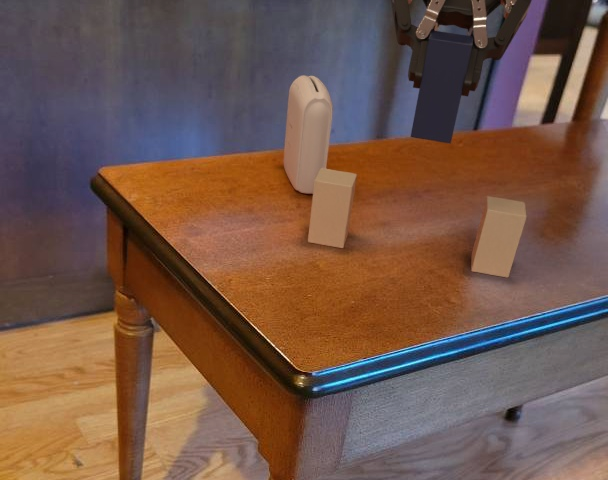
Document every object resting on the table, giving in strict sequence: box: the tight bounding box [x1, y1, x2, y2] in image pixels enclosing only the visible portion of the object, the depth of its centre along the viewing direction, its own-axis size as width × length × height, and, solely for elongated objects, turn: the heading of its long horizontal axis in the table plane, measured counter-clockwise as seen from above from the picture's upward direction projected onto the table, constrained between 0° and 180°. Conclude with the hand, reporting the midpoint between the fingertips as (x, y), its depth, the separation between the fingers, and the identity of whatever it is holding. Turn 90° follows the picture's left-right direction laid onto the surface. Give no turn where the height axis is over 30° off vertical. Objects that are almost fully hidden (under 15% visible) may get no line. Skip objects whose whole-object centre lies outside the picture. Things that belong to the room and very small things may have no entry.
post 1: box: [307, 168, 358, 249], centre depth 80 cm, size 4×4×7 cm
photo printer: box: [283, 75, 334, 195], centre depth 92 cm, size 10×4×12 cm, turn 11°
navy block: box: [410, 30, 473, 144], centre depth 72 cm, size 4×4×9 cm
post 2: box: [470, 195, 527, 279], centre depth 79 cm, size 4×4×7 cm
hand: (441, 86), depth 70 cm, fingers closed on navy block, 4 cm apart
